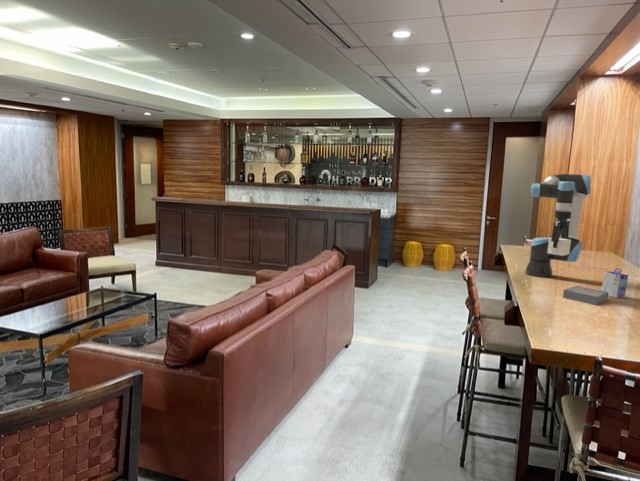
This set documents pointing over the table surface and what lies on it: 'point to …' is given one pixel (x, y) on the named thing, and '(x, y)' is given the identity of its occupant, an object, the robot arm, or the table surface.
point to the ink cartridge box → (615, 283)
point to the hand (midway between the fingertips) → (558, 253)
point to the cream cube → (560, 246)
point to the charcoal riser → (585, 295)
